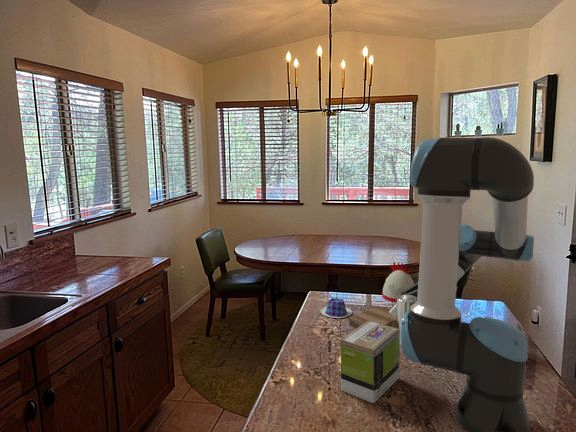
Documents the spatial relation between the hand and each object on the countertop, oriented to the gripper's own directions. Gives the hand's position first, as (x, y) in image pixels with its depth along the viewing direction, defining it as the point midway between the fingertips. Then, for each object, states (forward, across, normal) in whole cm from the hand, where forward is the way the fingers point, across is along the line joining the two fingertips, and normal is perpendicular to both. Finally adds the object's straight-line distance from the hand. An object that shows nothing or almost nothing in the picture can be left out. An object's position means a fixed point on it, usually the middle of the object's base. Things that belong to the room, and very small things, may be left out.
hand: (400, 323), depth 135 cm
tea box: (+18, -21, +8) cm, 29 cm away
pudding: (+14, +28, +4) cm, 32 cm away
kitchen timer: (-8, +39, -18) cm, 43 cm away
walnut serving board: (+6, +15, -3) cm, 16 cm away
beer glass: (+3, 0, -6) cm, 7 cm away
